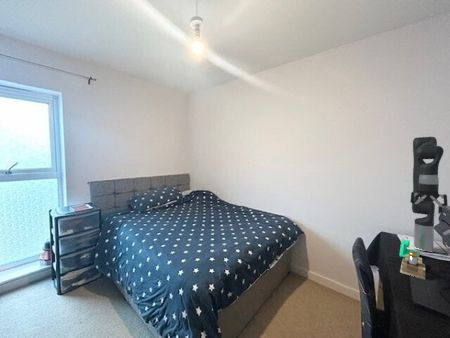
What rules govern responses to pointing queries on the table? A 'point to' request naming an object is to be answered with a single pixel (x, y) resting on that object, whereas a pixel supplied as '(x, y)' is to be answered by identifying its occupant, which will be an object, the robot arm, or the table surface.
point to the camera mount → (404, 250)
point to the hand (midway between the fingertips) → (427, 211)
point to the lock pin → (413, 258)
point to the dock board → (413, 268)
